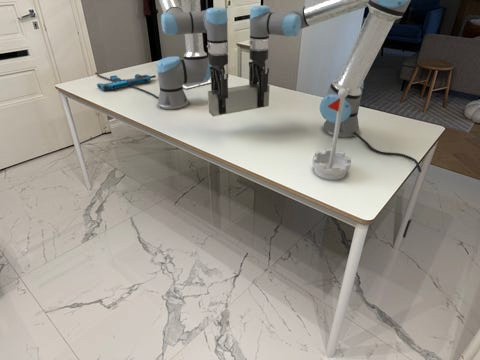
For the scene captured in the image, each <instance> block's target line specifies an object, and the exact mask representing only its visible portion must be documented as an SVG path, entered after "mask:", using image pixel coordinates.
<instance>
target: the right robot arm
mask: <svg viewBox="0 0 480 360" xmlns="http://www.w3.org/2000/svg"><path fill="white" fill-rule="evenodd" d="M411 1H412V0H316V1H314V2H312V3H309V4H306V5H304V6H300V7H298V8H295V9H293V10H290V11H286V12H271V8H270V6H268V5H253V6H251V7H250V11H249V13H250V15H249V41H248V44H249V60H251V61H249V62H248V69H249V70H248V71H249V73H248V76H249V77H248V85H251V84H258V87H259V92H257V93H258V103H257V107H258V108H257V109H260V108H259V107H262V108H265V107H264V93H265V92H267V91H268V85H269V73H270V68H269V67H267V66H266V61H267V60H268V59H269V50H268V49H269V48H270V47H269V44H270V35H275V36H282V37H283V36H284V37H296V36H299V33H300V31H301V30H302V29H305V28H308V27H310V26H314V25H317V24H319V23H322V22H326V21H328V20H331V19H334V18H338V17H340V16H344V15H346V14H349V13H352V12H355V11H358V10H361V9H364V8H367V7H368V14H367V16H366V17H365V20H364V22H363V24H362V27H361V29H360V30H359V33H358V34H357V37H356V39H355V42H354V44H353V46H352V48H351V50H350V52H349V55H348V56H347V58H346V60H345V63H344V65H343V67H342V68H341V72H340V74H339V75H338V77H336V78H334V79H333V80H332V81H331V84H330V85H329V87H328V89H327V92H326V94H325V96H324V97H322V99H321V100H320V104H319V112H320V114H321V117H322V118H323V119H324V120H325V121H324V123H323V126H322V130H323V132H324V133H325V134H326V135H329V136H332V137H333V136H334V130H335V124H336V118H337V112H338V111H336V110H333V109H331V108H329V107H327V106H329V105H330V104H332V103H333V102H335V101H336V100H338V99H339V98H340V97H339V95H338V92H339V90H340V89H342V88H344V89H346V90H347V91H348V95H347V96H346V97H345V99H344V105H343V111H342V117H341V123H340V128H339V134H338V138H339V139H341V138H342V139H349V138H354V137H357V138H358V139H359V140H360V141H362V142H363V143H364V144H365V145H366V146H367V147H368V149H370V150H371V151H373V153H374V152H375V153H376V154H381V155H387V156H399V157H403V158H406V159H408V160H410V161H412V162H414V164H415V166H416V168H417V170H418V173H422V168H421V166H420V164H419V162H418V161H417V159H416V158H415V157H412V156H410V155H407V154H405V153H401V152H390V151H389V152H388V151H381V150H378V149H376V148H374V147H373V146H371V144H370V143H368V142H367V141H366V140H365V138H363V137H362V136H361V135H359V132H360V125H359V118H358V117H359V116H358V114H359V111H360V110H359V109H360V105H361V99H362V95H363V90H364V84H365V82H364V81H365V79H366V77H367V75H368V73H369V71H370V69H371V67H372V65H373V64H374V61H375V59H376V58H377V55H378V54H379V52H380V50H381V49H382V46H383V44H384V42H385V40H386V38H387V36H388V34H389V32H390V30H391V29H392V26H393V25H394V23H395V22H396V20H399V19H401V18H403V16H404V14H405V12H406V10H407V9H408V6H409V5H410V3H411ZM411 221H412V218H411V219H408V220H407V223H406V225H405V227H404V231H403V234H402V238H404V239H405V238H406V236H407V233H408V230H409V227H410V224H411V223H412V222H411Z"/></svg>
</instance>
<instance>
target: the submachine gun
mask: <svg viewBox="0 0 480 360" xmlns="http://www.w3.org/2000/svg"><path fill="white" fill-rule="evenodd" d="M155 78H157V75H156V74H154V75H149V74H143V75H142V74H140V73H137V74H135V75H134V78H128V79H127V78H125V79H121V77H118V75H116V74H115V75H110V76H109V79H112V81H110V82H105V83H100V82H99V83H96V87H97V88H99V89H100V90H101V91H103V92H104V91H109V90H111V91H112V90H114V91H116V90H117V89H119V88H123V87H129V86H128V85H131V86H134V85H138V84H141V83H148V82H150V81H151V80H152V79H155Z"/></svg>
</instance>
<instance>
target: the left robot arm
mask: <svg viewBox="0 0 480 360" xmlns="http://www.w3.org/2000/svg"><path fill="white" fill-rule="evenodd" d="M158 2H159V5H160V8H161V10H162V14H161V16H160V21H161V28H162V32H163V34H164V35H166V36H177V35H179V36H180V35H184V42H185V53H184V54H183V58H182V59H181V58H180V57H179V56H177V55H175V56H174V55H173V56H167V57H166V56H165V57H164V58H161V59H159V60H158V61H157V63H156V73H157V78H158V85H159V94H158V96H157V95H155V94H154V93H152V92H150V91H147V90H146V89H142V88H141V87H137V86H134V85H128V86H127V87H130V88H133V89H135V90H139V91H142V92H144V93H146V94H149V95H151V96H152V97H154V98H156V99H157V106H158V108H159V109H162V110H166V111H174V110H176V111H177V110H181V109H184V108H186V107H188V105H189V100H188V97H187V94H186V93H185V91H184V90H185V89H184V88H183V84H188V83H197V82H200V83H201V82H205V81H208V80H210V81H211V83H210V88H211V89H210V91H211V90H218V89H219V96H220V98H218V100H219V114H223V115H226V114H225V113H226V98H228V88H229V74H228V73H226V68H225V66H227V65H228V64H229V54H228V53H229V41H228V21H229V19H228V12H227V10H226V8H224V7H209V8H207V9H204V10H201V0H158ZM203 34H206V35H207V37H206V38H207V45H206V48H207V52H205V48H204V36H203ZM95 75H96V76H98V77H100V78H101V79H105V80H108V81H110V82H112V79H110V77H105V76H103V75H101V74H99V73H98V72H97V71H96V72H95Z"/></svg>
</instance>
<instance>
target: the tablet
mask: <svg viewBox="0 0 480 360" xmlns="http://www.w3.org/2000/svg"><path fill="white" fill-rule="evenodd" d="M209 84H211V79H209V80H208V81H205V82H201V83H200V82H197V83H188V84H183V90H190V89H192V88H196V87H200V86H204V85H209Z"/></svg>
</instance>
